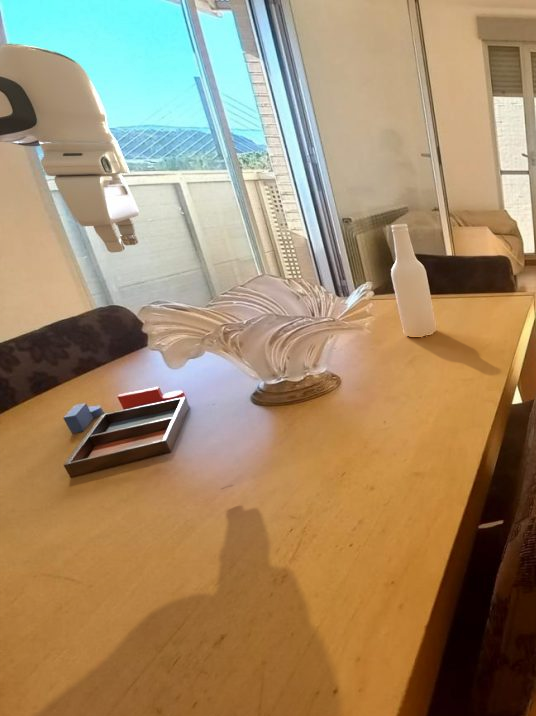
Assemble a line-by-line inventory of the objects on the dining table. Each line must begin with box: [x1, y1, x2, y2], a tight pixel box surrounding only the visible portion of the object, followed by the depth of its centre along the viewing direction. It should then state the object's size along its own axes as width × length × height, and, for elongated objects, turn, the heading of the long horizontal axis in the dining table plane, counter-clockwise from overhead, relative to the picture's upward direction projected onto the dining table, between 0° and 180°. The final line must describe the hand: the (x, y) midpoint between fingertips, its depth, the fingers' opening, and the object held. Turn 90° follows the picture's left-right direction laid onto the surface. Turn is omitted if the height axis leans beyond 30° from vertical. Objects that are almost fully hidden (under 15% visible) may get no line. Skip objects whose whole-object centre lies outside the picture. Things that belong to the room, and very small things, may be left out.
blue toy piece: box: [62, 402, 105, 434], centre depth 91 cm, size 9×4×3 cm, turn 33°
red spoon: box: [117, 386, 187, 410], centre depth 97 cm, size 9×4×3 cm, turn 123°
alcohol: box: [390, 223, 437, 337], centre depth 129 cm, size 9×9×30 cm
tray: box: [62, 397, 190, 479], centre depth 85 cm, size 12×20×2 cm, turn 33°
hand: (124, 248), depth 83 cm, fingers open, 8 cm apart
